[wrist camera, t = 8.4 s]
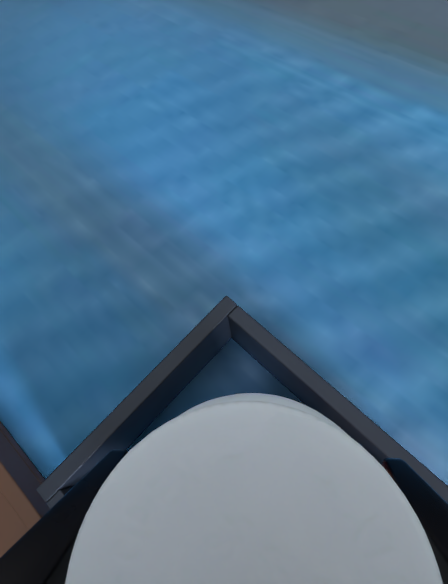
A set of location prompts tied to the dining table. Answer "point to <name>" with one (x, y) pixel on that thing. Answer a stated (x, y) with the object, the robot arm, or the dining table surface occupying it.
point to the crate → (188, 363)
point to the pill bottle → (251, 505)
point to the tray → (17, 492)
